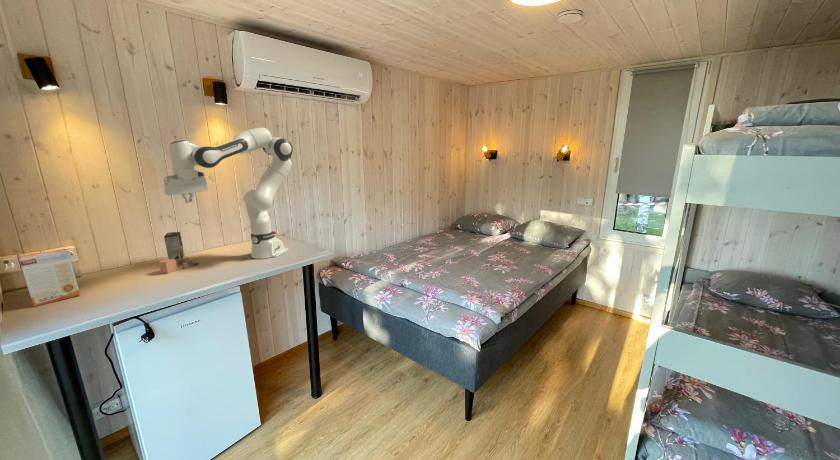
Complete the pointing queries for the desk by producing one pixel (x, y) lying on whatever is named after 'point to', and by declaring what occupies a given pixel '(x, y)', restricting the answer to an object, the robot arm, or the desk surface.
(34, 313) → the desk surface
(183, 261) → the chute
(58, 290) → the cracker box
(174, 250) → the coffee box
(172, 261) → the block
